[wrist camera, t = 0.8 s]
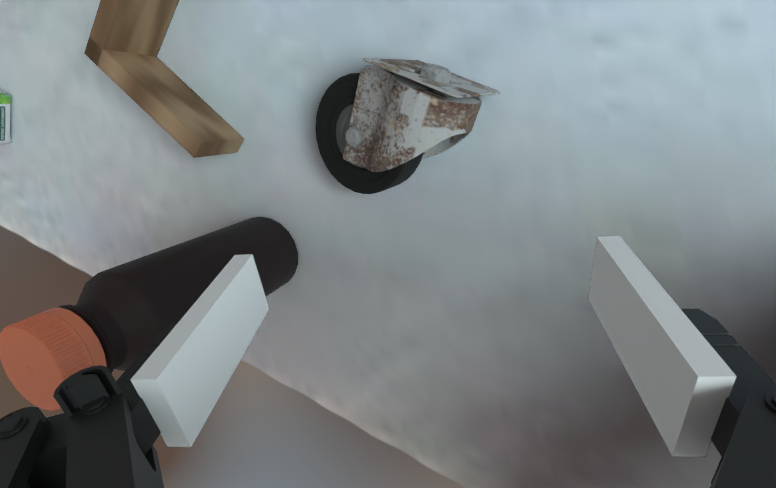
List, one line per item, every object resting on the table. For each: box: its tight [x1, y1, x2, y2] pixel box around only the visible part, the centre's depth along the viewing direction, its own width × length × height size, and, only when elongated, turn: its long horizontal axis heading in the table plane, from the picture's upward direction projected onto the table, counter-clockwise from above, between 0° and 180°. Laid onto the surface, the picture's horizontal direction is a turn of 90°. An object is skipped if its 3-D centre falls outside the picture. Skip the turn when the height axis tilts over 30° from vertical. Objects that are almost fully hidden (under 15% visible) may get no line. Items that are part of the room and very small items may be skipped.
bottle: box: [0, 217, 298, 411], centre depth 30 cm, size 7×7×20 cm
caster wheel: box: [316, 58, 500, 194], centre depth 29 cm, size 7×11×10 cm
